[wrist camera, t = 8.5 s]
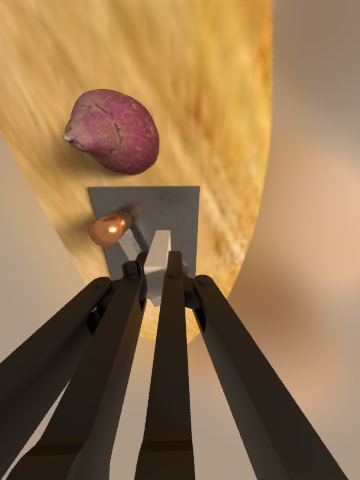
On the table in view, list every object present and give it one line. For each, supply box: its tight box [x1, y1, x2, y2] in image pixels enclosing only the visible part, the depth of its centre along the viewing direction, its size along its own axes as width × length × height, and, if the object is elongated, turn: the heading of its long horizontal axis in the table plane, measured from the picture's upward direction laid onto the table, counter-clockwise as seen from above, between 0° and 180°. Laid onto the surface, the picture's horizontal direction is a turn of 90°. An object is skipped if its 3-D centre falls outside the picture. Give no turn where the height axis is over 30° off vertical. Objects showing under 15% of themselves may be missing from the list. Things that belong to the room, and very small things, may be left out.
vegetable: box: [63, 89, 159, 174], centre depth 19 cm, size 10×10×15 cm
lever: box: [89, 210, 162, 307], centre depth 27 cm, size 22×5×7 cm, turn 19°
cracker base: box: [88, 186, 200, 281], centre depth 28 cm, size 25×20×7 cm
